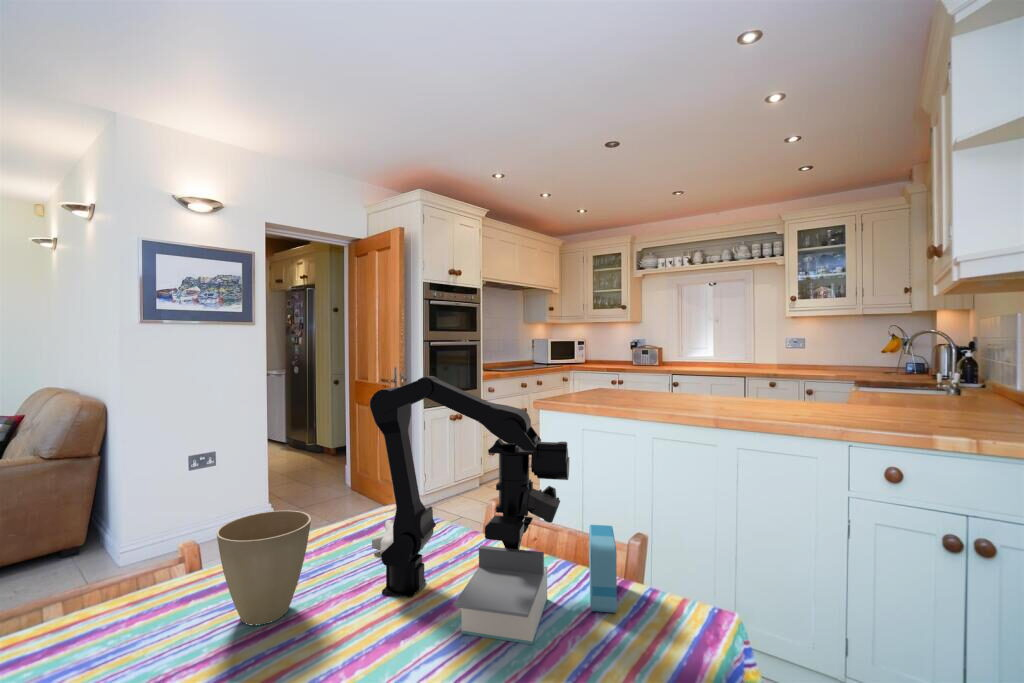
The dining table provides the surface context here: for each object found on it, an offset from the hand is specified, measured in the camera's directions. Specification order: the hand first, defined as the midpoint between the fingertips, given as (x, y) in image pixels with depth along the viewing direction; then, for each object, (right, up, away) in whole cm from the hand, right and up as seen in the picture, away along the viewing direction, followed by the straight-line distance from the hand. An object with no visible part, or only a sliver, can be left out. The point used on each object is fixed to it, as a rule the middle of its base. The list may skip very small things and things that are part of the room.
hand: (514, 559), depth 89 cm
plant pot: (-44, -8, -5) cm, 45 cm away
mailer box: (-1, -7, -5) cm, 9 cm away
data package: (+17, -8, +1) cm, 18 cm away
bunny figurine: (-28, -8, +24) cm, 38 cm away
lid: (-2, -1, -9) cm, 9 cm away
